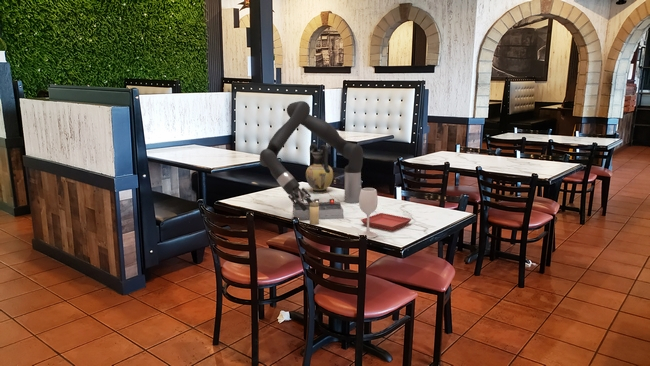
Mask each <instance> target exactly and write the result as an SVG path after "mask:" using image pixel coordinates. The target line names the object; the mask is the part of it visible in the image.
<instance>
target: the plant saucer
mask: <svg viewBox="0 0 650 366" xmlns="http://www.w3.org/2000/svg"><path fill="white" fill-rule="evenodd" d="M411 221H412V218H410V217H406V216H405V217H404V216H399V215H394V214H389V213H384V212H380V213H377V214H374V215H370V216H369V228H370V227H371V228H375V229H379V230H383V231H388V232H392V231H394V230H397V229H399V228H402V227H405V226H406V225H408V224H409V223H410V222H411ZM360 222H361V223H363V224H364V226H366V227H367V217H365V218H364V217H363V218H361V219H360Z"/></svg>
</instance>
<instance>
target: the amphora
mask: <svg viewBox="0 0 650 366" xmlns="http://www.w3.org/2000/svg"><path fill="white" fill-rule="evenodd" d="M333 171H334V170H333V167H331V166H330V165H329V147H328V146H327V145H326V144H322V145H320V147H319V148H318V145H317V144H316V143H311V144H310V146H309V166H307V169H306V171H305V178H306V182H307V184H308V186H309V187H310V188H311V189H312V193H315V194H323V193H327V192H328V188H329V187H330V186H331V184H332V181H333V180H334V172H333Z"/></svg>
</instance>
